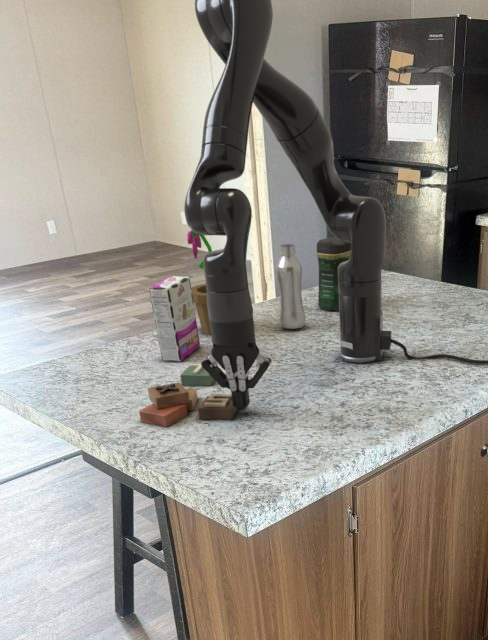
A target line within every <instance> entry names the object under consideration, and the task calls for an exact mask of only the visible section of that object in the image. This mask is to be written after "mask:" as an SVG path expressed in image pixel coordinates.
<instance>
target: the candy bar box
mask: <svg viewBox="0 0 488 640" xmlns="http://www.w3.org/2000/svg"><path fill="white" fill-rule="evenodd" d="M190 278H191V277H190V276H187V275H186V276H184V275H183V276H181V275H177V276H176V275H172V276H169V277H167V278H165V279H163V280H161V281H160V282H157V283H156V284H154V285H152V286H150V287H148V291H149V297H150V301H151V308H152V313H153V318H154V322H155V323H154V324H155V329H156V333H157V340H158V345H159V349H160V355H161V361H162V362H178V363H179V362H180V363H181V362H183V361H184V360H186V359H187V358H188V357H189V356H191V355H192V354H193V353H194V352H196V351H197V350H199V349H200V347H201V342H200V341H201V340H200V336H199V328H198V323H197V317H196V309H195V302H193V297H192V290H191V288H192V285H191V279H190Z"/></svg>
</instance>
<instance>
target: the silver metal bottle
mask: <svg viewBox="0 0 488 640" xmlns="http://www.w3.org/2000/svg"><path fill="white" fill-rule="evenodd" d="M295 246H296V245H295V244H291V243H289V244H288V243H287V244H280V245H279V255H280V257H279V259H278V261H277V263H276V265H275V273H276V279H277V284H278V289H279V296H280V297H279V298H280V300H279V301H280V302H279V303H280V307H279V308H280V311H279V322H280V325H281V326H282V328H284V329H287V330H296V329H301V328H303V327H304V326H305V324H306V312H305V309H304V304H303V298H302V275H303V268H302V264H301V262H300V261H299V259H298V258H297V257H296V247H295Z"/></svg>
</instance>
